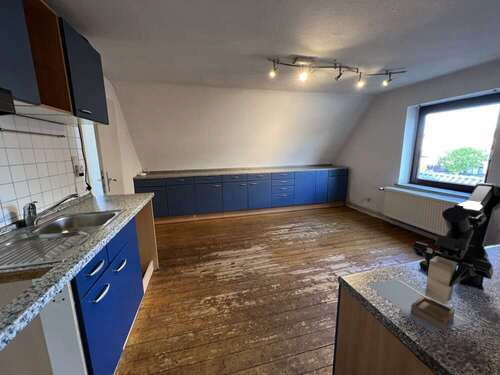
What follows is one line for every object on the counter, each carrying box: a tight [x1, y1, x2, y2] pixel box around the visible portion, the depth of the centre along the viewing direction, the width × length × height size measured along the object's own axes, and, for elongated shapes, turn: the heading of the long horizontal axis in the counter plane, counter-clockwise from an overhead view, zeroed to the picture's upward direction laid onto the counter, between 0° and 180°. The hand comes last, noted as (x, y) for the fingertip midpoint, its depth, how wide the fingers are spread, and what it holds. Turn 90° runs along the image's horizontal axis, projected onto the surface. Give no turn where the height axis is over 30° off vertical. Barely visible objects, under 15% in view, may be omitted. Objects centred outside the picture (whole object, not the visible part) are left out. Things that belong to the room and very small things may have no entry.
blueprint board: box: [367, 277, 475, 334], centre depth 75 cm, size 16×24×1 cm, turn 14°
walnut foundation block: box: [411, 296, 455, 331], centre depth 68 cm, size 8×8×3 cm
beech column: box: [424, 256, 458, 305], centre depth 68 cm, size 5×5×12 cm
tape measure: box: [419, 259, 427, 273], centre depth 95 cm, size 7×7×4 cm
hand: (438, 281), depth 68 cm, fingers closed on beech column, 5 cm apart
